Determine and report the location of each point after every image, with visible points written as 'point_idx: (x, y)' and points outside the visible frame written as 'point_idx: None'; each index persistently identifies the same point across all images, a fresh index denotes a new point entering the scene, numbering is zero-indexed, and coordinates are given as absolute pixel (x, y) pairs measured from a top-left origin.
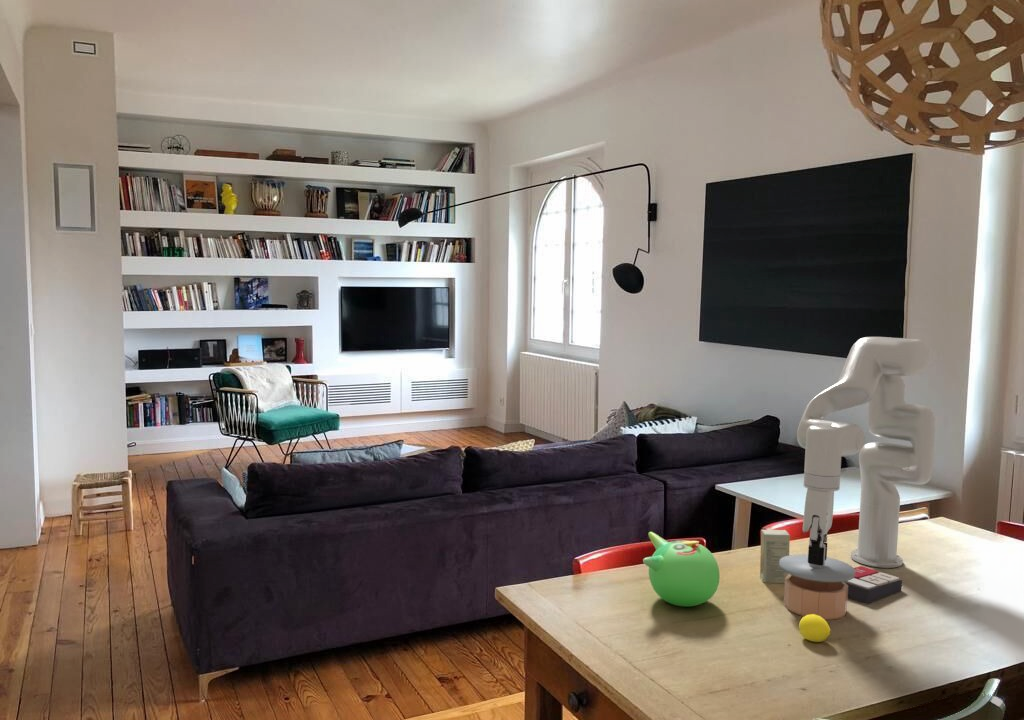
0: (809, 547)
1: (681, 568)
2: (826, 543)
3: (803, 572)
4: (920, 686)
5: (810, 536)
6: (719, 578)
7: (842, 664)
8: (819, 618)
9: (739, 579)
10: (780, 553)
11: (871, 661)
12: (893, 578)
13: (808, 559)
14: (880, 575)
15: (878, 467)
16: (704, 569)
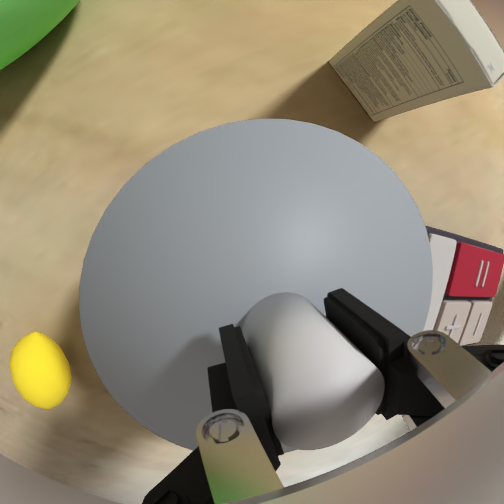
0: (234, 393)
1: None
2: (386, 418)
3: (120, 334)
4: (84, 490)
5: (213, 499)
6: (2, 44)
7: (29, 418)
8: (30, 400)
9: (296, 7)
10: (416, 72)
11: (81, 447)
12: (473, 339)
13: (222, 337)
14: (478, 315)
15: None
16: None
